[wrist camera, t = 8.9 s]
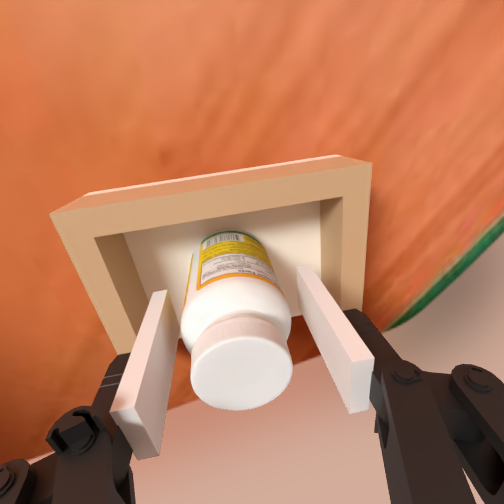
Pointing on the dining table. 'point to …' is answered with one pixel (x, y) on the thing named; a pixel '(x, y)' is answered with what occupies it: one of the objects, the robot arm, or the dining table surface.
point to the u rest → (210, 220)
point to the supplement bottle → (235, 323)
